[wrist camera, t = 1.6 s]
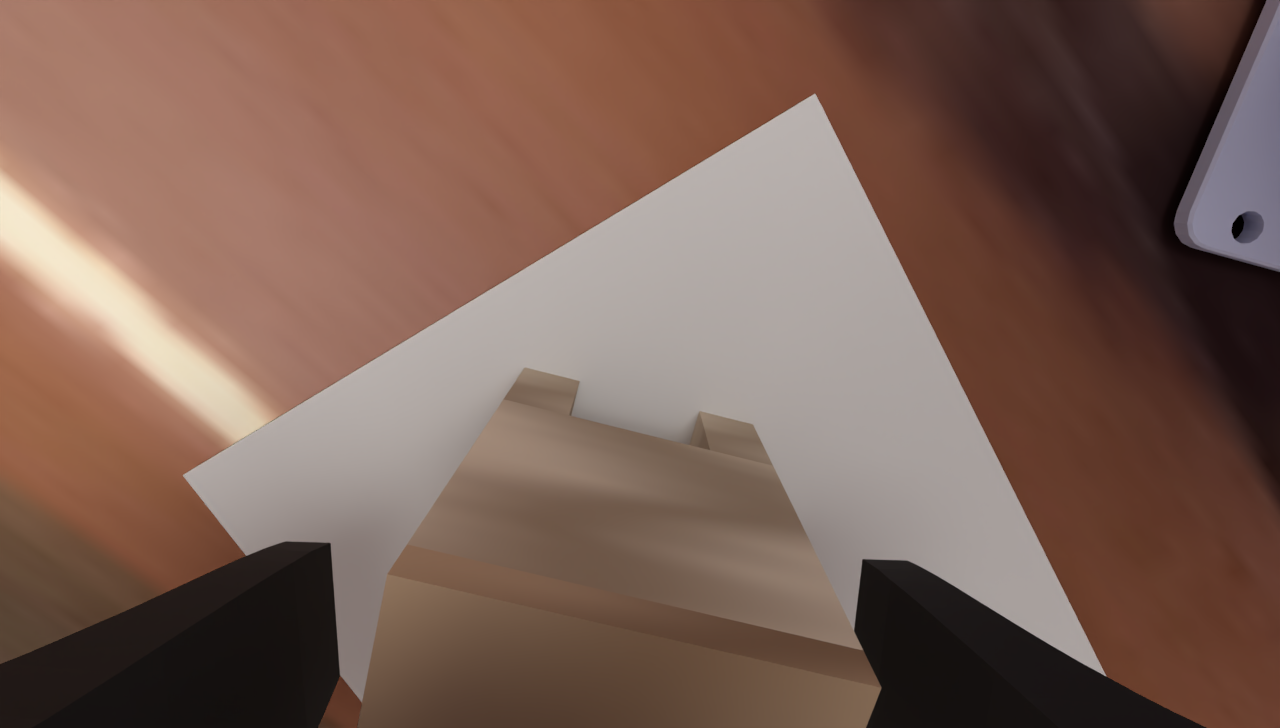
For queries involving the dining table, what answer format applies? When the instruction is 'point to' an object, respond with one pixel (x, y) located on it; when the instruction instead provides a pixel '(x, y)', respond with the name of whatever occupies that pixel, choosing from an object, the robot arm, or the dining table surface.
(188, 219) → the dining table surface
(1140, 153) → the dining table surface
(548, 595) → the beige notched block
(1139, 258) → the dining table surface
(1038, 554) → the mat
